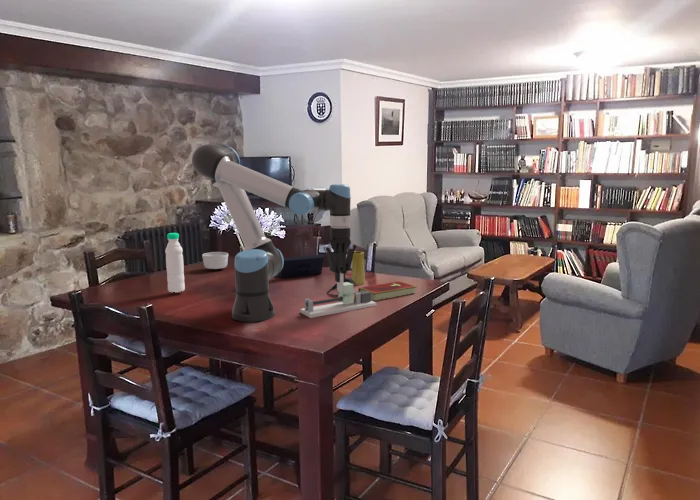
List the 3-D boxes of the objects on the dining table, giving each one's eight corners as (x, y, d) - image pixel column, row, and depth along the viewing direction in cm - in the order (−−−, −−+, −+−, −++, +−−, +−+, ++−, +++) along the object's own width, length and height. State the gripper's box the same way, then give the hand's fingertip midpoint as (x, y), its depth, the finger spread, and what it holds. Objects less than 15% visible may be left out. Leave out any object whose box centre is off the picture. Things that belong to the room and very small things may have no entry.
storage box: (312, 269, 278) (312, 250, 277) (324, 275, 264) (324, 255, 262) (273, 273, 270) (272, 253, 268) (283, 279, 256) (282, 258, 254)
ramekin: (222, 263, 294) (221, 250, 293) (233, 267, 284) (232, 254, 283) (198, 266, 286) (198, 253, 285) (209, 270, 276) (208, 257, 275)
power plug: (327, 289, 231) (349, 273, 228) (338, 303, 231) (360, 287, 228) (324, 292, 226) (346, 276, 223) (335, 307, 226) (358, 290, 223)
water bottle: (182, 292, 232) (178, 234, 227) (165, 293, 232) (161, 234, 227) (187, 288, 239) (183, 232, 234) (170, 288, 239) (167, 232, 234)
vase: (351, 282, 248) (350, 251, 246) (364, 281, 249) (364, 250, 246) (352, 285, 242) (351, 253, 240) (365, 284, 243) (365, 253, 240)
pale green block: (344, 304, 203) (344, 285, 201) (338, 301, 206) (338, 283, 205) (353, 302, 205) (353, 284, 203) (347, 299, 208) (347, 282, 207)
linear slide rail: (310, 318, 194) (310, 303, 193) (300, 312, 201) (300, 298, 200) (376, 306, 208) (376, 292, 207) (365, 301, 215) (365, 288, 214)
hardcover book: (358, 296, 225) (358, 286, 224) (399, 289, 236) (399, 280, 235) (374, 303, 215) (374, 292, 214) (416, 295, 226) (416, 285, 225)
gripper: (329, 229, 193) (329, 294, 197) (360, 227, 199) (360, 290, 203) (319, 227, 199) (320, 290, 203) (349, 225, 206) (349, 286, 209)
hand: (340, 290), depth 203 cm, fingers closed
